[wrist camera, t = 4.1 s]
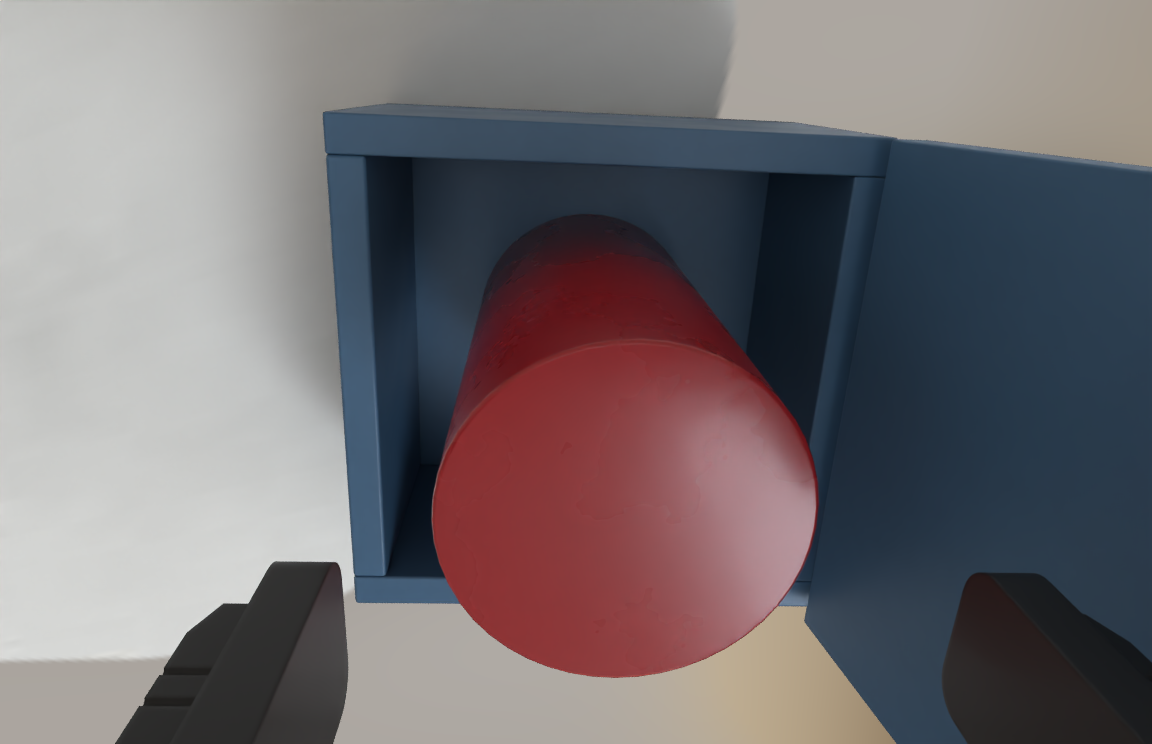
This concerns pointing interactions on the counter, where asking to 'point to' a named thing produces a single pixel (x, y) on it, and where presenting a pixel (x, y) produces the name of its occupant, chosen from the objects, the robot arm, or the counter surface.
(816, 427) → the blue open square box
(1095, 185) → the lid
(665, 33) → the counter surface
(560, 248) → the can
